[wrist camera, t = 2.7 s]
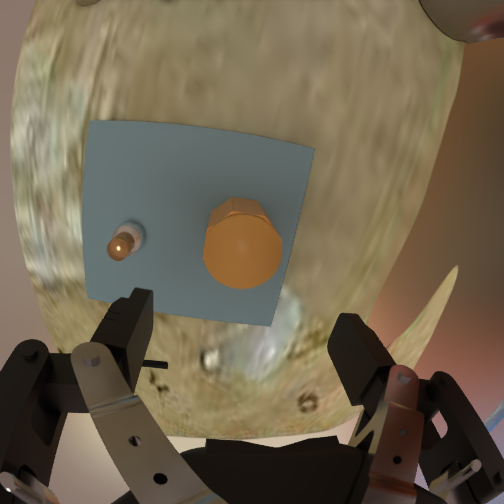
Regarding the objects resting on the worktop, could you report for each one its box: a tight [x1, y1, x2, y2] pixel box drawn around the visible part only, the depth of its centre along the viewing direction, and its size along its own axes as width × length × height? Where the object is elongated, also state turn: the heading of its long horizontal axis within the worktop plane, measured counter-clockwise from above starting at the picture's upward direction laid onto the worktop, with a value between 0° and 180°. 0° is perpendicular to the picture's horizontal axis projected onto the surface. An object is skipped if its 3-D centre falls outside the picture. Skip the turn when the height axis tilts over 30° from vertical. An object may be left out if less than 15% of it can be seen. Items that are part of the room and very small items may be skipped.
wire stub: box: [107, 220, 146, 261], centre depth 21 cm, size 3×3×4 cm
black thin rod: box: [142, 360, 168, 369], centre depth 30 cm, size 12×1×1 cm, turn 88°
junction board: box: [82, 121, 315, 326], centre depth 24 cm, size 20×18×2 cm
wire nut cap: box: [203, 197, 282, 289], centre depth 21 cm, size 5×5×6 cm
